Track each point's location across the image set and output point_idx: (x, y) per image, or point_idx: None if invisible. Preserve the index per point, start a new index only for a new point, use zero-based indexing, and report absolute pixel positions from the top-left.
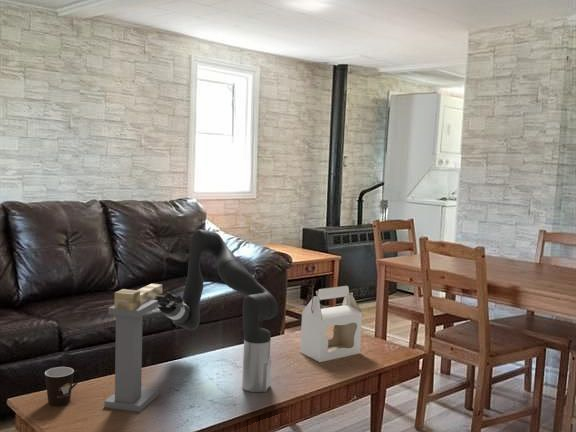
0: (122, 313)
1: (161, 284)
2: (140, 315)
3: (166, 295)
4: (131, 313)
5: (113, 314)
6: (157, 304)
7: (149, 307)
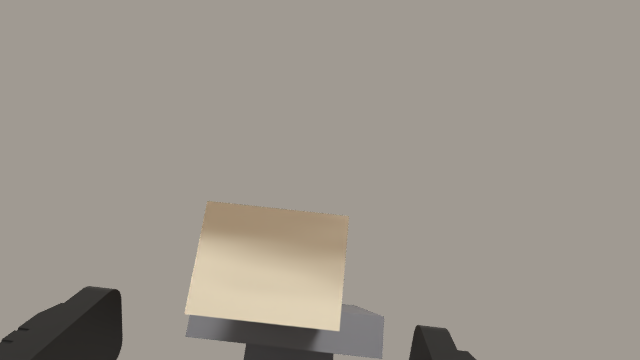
0: None
1: (219, 203)
2: None
3: (121, 325)
4: None
5: None
6: (191, 320)
7: None
